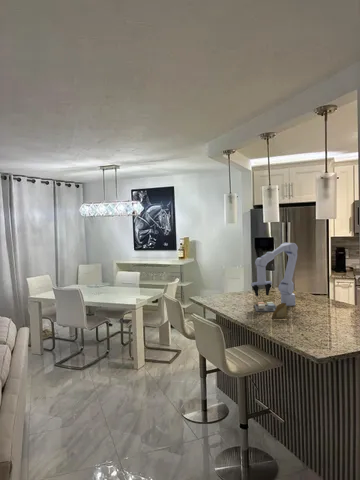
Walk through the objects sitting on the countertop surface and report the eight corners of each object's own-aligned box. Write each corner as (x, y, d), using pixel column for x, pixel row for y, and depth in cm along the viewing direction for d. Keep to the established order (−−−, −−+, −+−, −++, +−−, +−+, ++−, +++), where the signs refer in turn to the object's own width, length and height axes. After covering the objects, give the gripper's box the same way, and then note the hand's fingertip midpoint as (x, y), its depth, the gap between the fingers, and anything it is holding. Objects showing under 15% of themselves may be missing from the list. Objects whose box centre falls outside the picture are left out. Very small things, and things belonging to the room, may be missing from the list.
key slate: (273, 306, 237) (273, 303, 237) (274, 308, 233) (274, 305, 233) (267, 307, 237) (267, 304, 237) (268, 308, 233) (268, 305, 233)
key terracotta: (263, 305, 244) (263, 302, 243) (264, 306, 240) (264, 303, 239) (257, 305, 244) (257, 302, 244) (258, 306, 240) (258, 303, 240)
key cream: (264, 307, 238) (264, 304, 238) (265, 308, 234) (265, 305, 234) (258, 307, 238) (258, 304, 238) (258, 308, 234) (258, 305, 234)
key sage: (272, 304, 243) (272, 301, 243) (273, 306, 239) (273, 303, 239) (266, 304, 243) (266, 302, 243) (267, 306, 239) (267, 303, 239)
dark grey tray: (275, 307, 247) (275, 304, 246) (278, 313, 229) (278, 310, 229) (254, 307, 248) (254, 304, 248) (256, 314, 231) (256, 310, 231)
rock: (271, 317, 212) (288, 315, 210) (268, 304, 217) (285, 302, 215) (272, 324, 221) (289, 322, 219) (270, 311, 226) (286, 309, 224)
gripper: (268, 274, 246) (268, 293, 246) (248, 275, 242) (249, 295, 242) (273, 275, 239) (274, 295, 239) (253, 277, 235) (254, 297, 235)
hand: (262, 295), depth 240 cm, fingers open, 7 cm apart
